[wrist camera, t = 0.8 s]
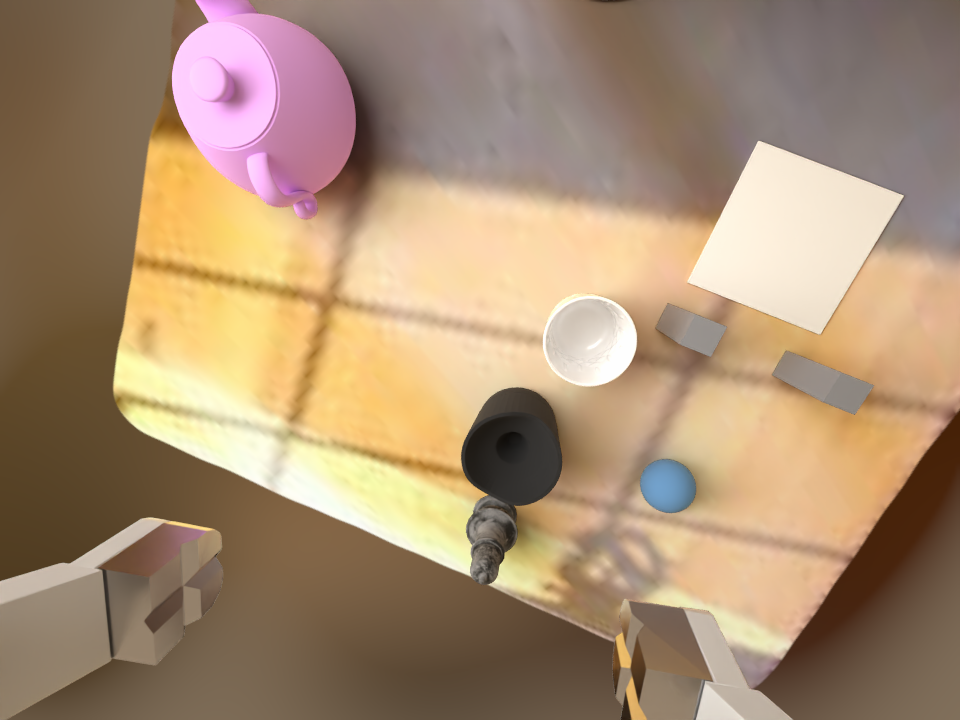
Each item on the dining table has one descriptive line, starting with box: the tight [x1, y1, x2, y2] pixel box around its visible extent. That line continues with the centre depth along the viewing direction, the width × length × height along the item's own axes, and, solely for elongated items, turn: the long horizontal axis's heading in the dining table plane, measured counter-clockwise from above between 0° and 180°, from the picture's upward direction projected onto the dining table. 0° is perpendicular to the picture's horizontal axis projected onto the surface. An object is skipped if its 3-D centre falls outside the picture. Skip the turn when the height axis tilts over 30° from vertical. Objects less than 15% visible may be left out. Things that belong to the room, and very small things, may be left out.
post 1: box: [656, 304, 727, 357], centre depth 43 cm, size 3×3×9 cm
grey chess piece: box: [466, 495, 518, 585], centre depth 49 cm, size 6×6×12 cm
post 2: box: [772, 351, 874, 415], centre depth 42 cm, size 3×3×9 cm
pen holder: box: [461, 388, 562, 506], centre depth 47 cm, size 9×9×10 cm
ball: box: [640, 459, 696, 513], centre depth 49 cm, size 6×6×6 cm
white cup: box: [543, 293, 637, 386], centre depth 44 cm, size 8×8×10 cm
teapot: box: [172, 0, 356, 219], centre depth 41 cm, size 22×16×14 cm
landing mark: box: [687, 141, 904, 335], centre depth 44 cm, size 14×14×1 cm
